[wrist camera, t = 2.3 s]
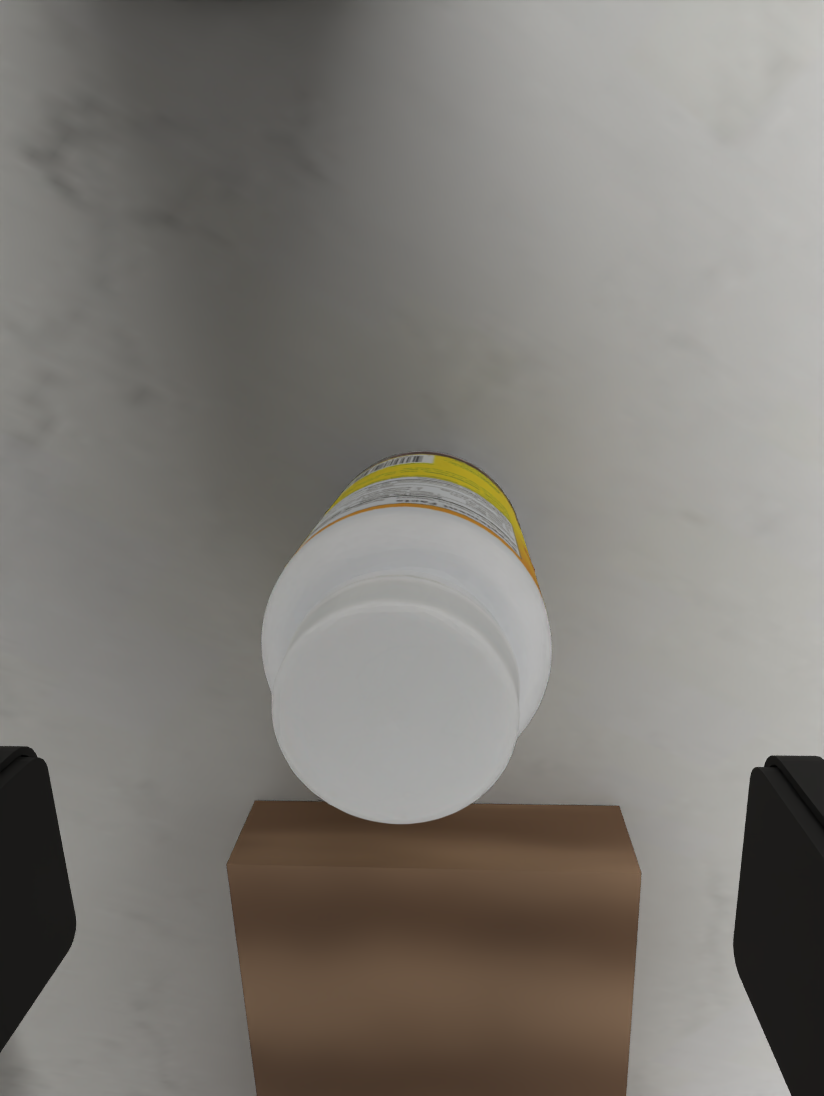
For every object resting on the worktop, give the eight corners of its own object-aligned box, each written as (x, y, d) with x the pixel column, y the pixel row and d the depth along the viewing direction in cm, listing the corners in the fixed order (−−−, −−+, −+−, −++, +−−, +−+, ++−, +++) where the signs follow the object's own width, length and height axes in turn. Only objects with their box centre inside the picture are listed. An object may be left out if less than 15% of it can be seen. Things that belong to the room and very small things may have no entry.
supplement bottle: (458, 659, 22) (453, 922, 12) (299, 571, 21) (161, 770, 12) (558, 507, 20) (647, 668, 11) (389, 408, 20) (317, 481, 10)
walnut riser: (255, 800, 24) (226, 864, 21) (619, 805, 23) (641, 873, 20) (294, 1142, 28) (275, 1233, 26) (599, 1158, 27) (614, 1254, 25)
